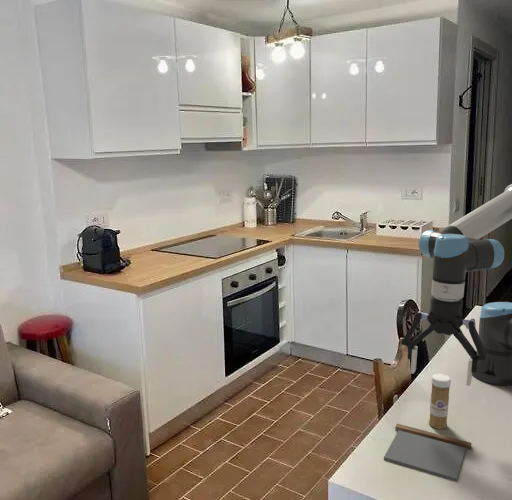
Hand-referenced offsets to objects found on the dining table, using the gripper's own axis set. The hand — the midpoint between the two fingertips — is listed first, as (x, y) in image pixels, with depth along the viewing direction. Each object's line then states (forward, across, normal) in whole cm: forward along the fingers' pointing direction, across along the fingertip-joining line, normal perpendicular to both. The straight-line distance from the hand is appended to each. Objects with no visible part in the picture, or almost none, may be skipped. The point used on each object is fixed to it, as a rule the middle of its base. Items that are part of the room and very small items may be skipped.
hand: (440, 377), depth 133 cm
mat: (+14, 0, -14) cm, 20 cm away
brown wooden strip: (+13, 0, -6) cm, 15 cm away
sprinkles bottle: (+14, 0, 0) cm, 14 cm away
